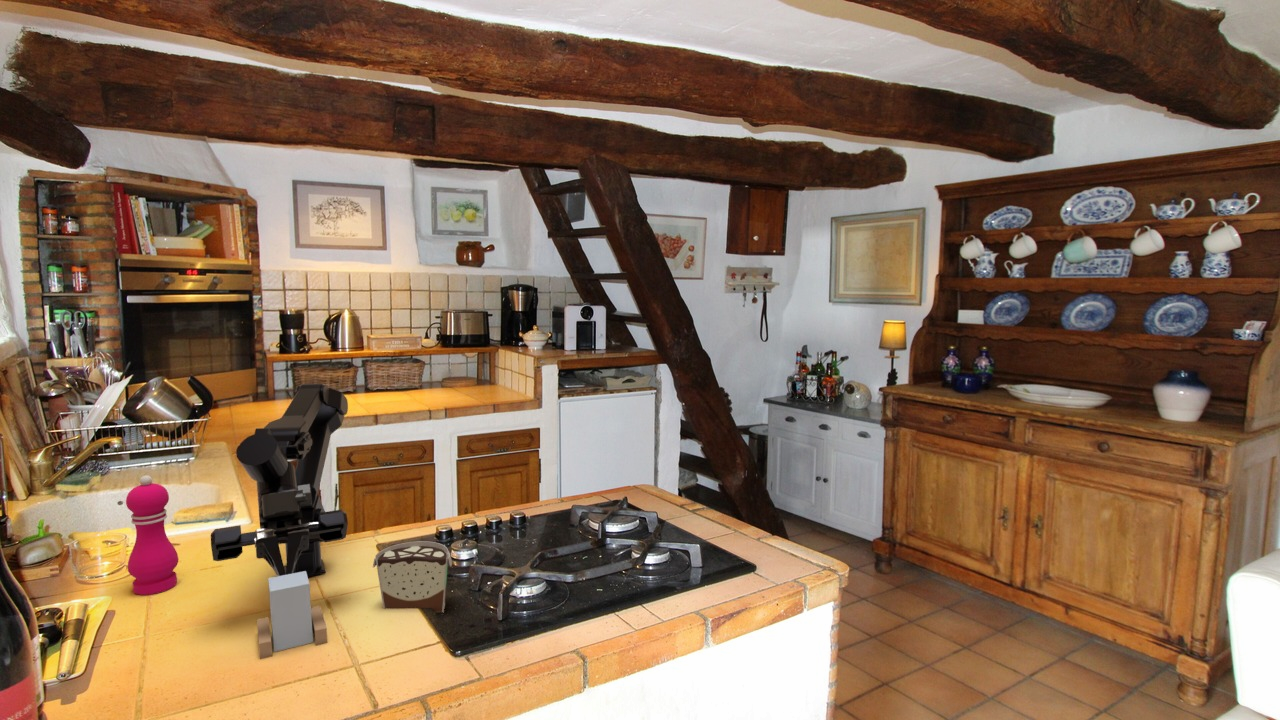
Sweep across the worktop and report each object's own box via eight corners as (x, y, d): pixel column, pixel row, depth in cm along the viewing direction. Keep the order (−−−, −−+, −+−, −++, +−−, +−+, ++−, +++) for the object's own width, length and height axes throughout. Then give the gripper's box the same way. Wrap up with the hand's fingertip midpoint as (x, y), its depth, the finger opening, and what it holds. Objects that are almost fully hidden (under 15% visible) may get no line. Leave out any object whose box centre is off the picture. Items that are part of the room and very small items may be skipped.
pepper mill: (125, 587, 122) (114, 475, 119) (173, 574, 127) (164, 467, 124) (135, 600, 117) (124, 484, 114) (185, 586, 122) (176, 475, 119)
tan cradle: (258, 639, 104) (256, 619, 104) (321, 625, 109) (320, 605, 108) (262, 691, 92) (261, 668, 91) (334, 672, 96) (332, 650, 95)
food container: (461, 596, 118) (459, 539, 117) (452, 613, 112) (450, 554, 111) (387, 597, 118) (384, 540, 117) (375, 615, 112) (372, 555, 111)
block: (272, 636, 103) (268, 578, 102) (309, 627, 106) (305, 570, 105) (274, 652, 99) (270, 591, 98) (313, 642, 102) (309, 583, 101)
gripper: (206, 477, 103) (210, 576, 95) (343, 460, 112) (357, 549, 104) (211, 513, 111) (215, 608, 102) (339, 495, 120) (351, 580, 112)
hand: (286, 585), depth 105 cm, fingers closed
